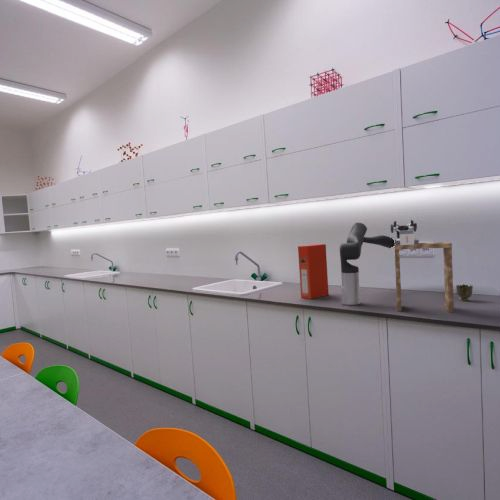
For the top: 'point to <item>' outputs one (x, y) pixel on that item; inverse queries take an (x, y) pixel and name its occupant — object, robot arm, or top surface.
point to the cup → (464, 292)
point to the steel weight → (405, 232)
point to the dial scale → (407, 240)
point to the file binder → (313, 271)
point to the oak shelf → (447, 270)
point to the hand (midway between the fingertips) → (403, 221)
